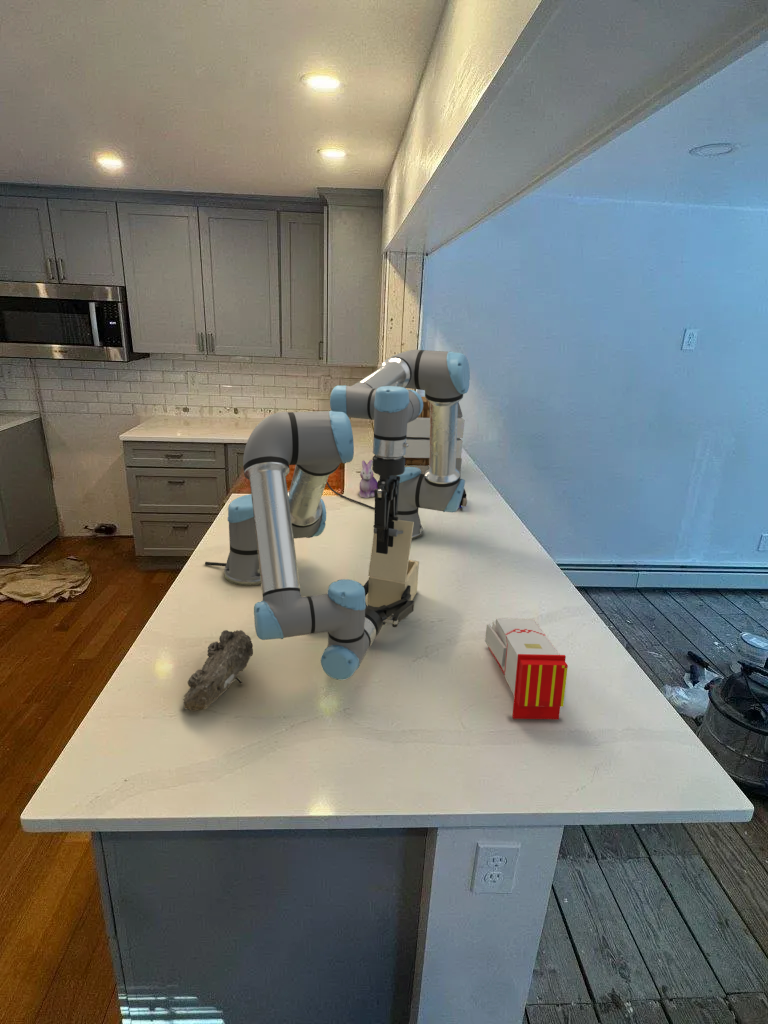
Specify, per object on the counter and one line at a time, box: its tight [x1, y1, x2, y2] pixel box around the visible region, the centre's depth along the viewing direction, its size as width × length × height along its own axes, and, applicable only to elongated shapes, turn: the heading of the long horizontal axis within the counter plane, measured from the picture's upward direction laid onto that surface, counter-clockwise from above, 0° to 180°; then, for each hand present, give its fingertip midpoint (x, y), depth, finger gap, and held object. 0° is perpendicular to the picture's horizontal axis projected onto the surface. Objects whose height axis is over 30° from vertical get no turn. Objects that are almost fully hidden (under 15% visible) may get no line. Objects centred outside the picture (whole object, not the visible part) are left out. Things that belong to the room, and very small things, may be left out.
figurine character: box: [458, 488, 468, 511], centre depth 230 cm, size 7×8×15 cm
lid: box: [368, 520, 414, 582], centre depth 140 cm, size 15×10×9 cm
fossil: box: [182, 629, 254, 712], centre depth 117 cm, size 22×10×15 cm
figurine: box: [358, 459, 378, 499], centre depth 237 cm, size 9×10×15 cm
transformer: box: [404, 396, 465, 475], centre depth 268 cm, size 34×33×41 cm
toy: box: [484, 617, 569, 720], centre depth 122 cm, size 12×13×30 cm
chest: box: [367, 559, 420, 607], centre depth 152 cm, size 15×10×10 cm
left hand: (389, 586), depth 148 cm, fingers closed on chest, 10 cm apart
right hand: (384, 549), depth 138 cm, fingers open, 4 cm apart
